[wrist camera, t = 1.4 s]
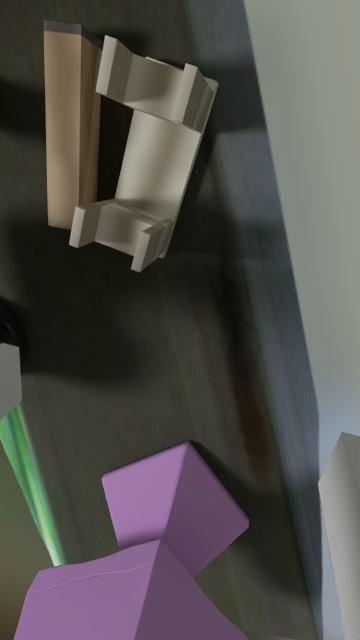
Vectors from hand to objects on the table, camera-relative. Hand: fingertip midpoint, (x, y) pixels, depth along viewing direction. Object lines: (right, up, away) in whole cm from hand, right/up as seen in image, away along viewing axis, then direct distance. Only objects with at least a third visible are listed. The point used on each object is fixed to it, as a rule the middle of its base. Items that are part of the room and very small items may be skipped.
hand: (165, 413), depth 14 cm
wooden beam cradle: (-2, +22, +28) cm, 36 cm away
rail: (-11, +26, +29) cm, 40 cm away
